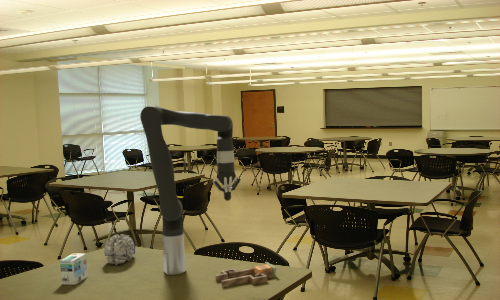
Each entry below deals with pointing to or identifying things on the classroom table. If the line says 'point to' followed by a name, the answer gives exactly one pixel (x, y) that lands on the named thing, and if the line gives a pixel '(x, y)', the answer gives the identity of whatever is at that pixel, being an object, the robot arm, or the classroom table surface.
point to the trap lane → (244, 276)
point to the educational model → (119, 249)
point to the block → (262, 269)
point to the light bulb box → (73, 268)
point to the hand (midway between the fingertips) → (227, 200)
